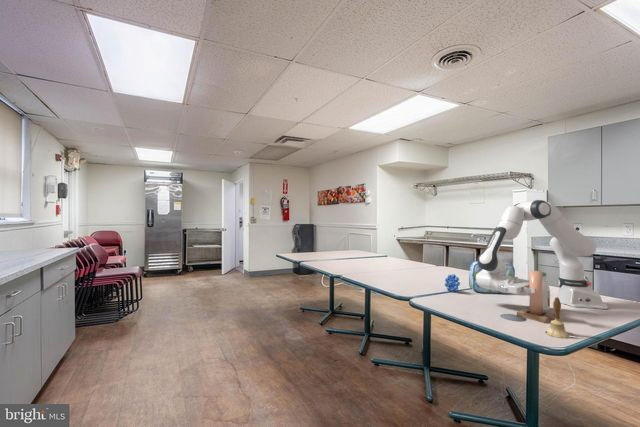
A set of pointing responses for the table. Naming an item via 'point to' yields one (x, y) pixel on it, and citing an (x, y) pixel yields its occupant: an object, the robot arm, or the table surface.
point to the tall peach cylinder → (536, 293)
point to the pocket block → (536, 316)
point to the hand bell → (557, 323)
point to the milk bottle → (545, 292)
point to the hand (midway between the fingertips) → (538, 290)
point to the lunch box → (476, 269)
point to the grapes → (452, 283)
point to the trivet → (513, 317)
